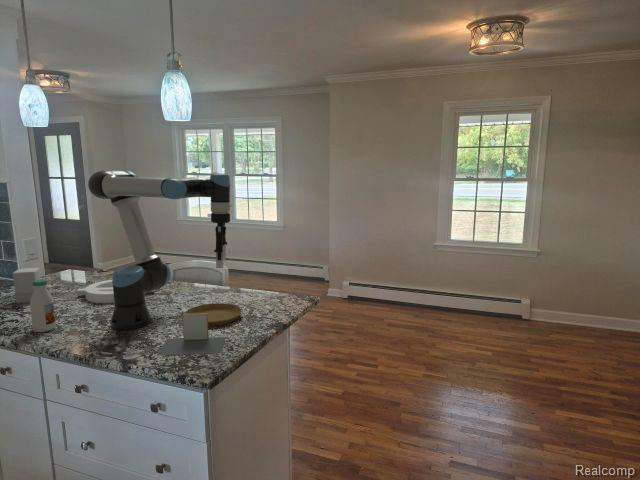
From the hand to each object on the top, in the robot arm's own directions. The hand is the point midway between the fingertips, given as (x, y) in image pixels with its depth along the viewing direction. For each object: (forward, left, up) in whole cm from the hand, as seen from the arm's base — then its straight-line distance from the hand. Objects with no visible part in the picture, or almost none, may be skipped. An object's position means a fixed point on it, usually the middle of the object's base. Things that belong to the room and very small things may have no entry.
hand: (221, 263), depth 170 cm
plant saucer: (-5, +5, -26) cm, 27 cm away
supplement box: (-97, +36, -26) cm, 106 cm away
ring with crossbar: (-59, +43, -26) cm, 77 cm away
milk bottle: (-70, -3, -26) cm, 74 cm away
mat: (-8, -24, -25) cm, 35 cm away
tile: (-8, -18, -25) cm, 32 cm away
